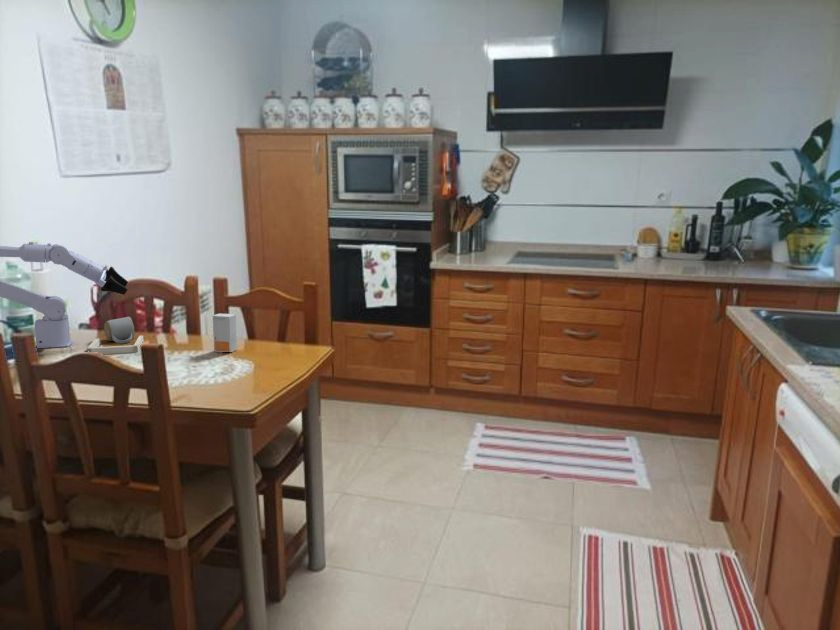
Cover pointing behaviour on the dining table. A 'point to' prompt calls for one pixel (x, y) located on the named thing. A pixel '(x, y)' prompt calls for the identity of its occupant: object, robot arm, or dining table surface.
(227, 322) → the skincare box
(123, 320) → the ceramic mug
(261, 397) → the dining table surface
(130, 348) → the holder
